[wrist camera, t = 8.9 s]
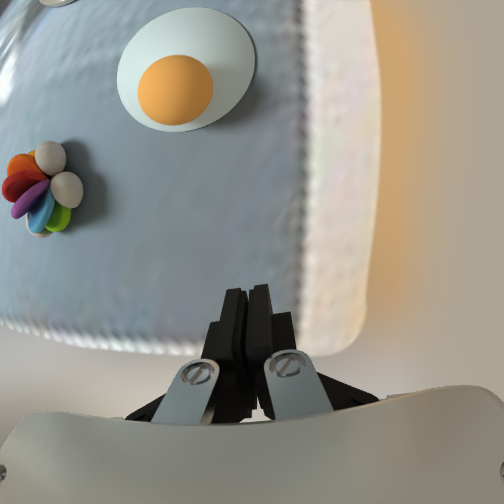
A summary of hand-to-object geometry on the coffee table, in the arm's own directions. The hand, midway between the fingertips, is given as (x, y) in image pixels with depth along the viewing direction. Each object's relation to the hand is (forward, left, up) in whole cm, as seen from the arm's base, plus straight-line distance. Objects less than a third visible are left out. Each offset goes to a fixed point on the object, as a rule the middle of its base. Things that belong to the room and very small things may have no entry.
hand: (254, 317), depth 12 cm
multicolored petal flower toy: (-8, -21, -15) cm, 27 cm away
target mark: (-16, -4, -15) cm, 22 cm away
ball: (-13, -4, -12) cm, 18 cm away
